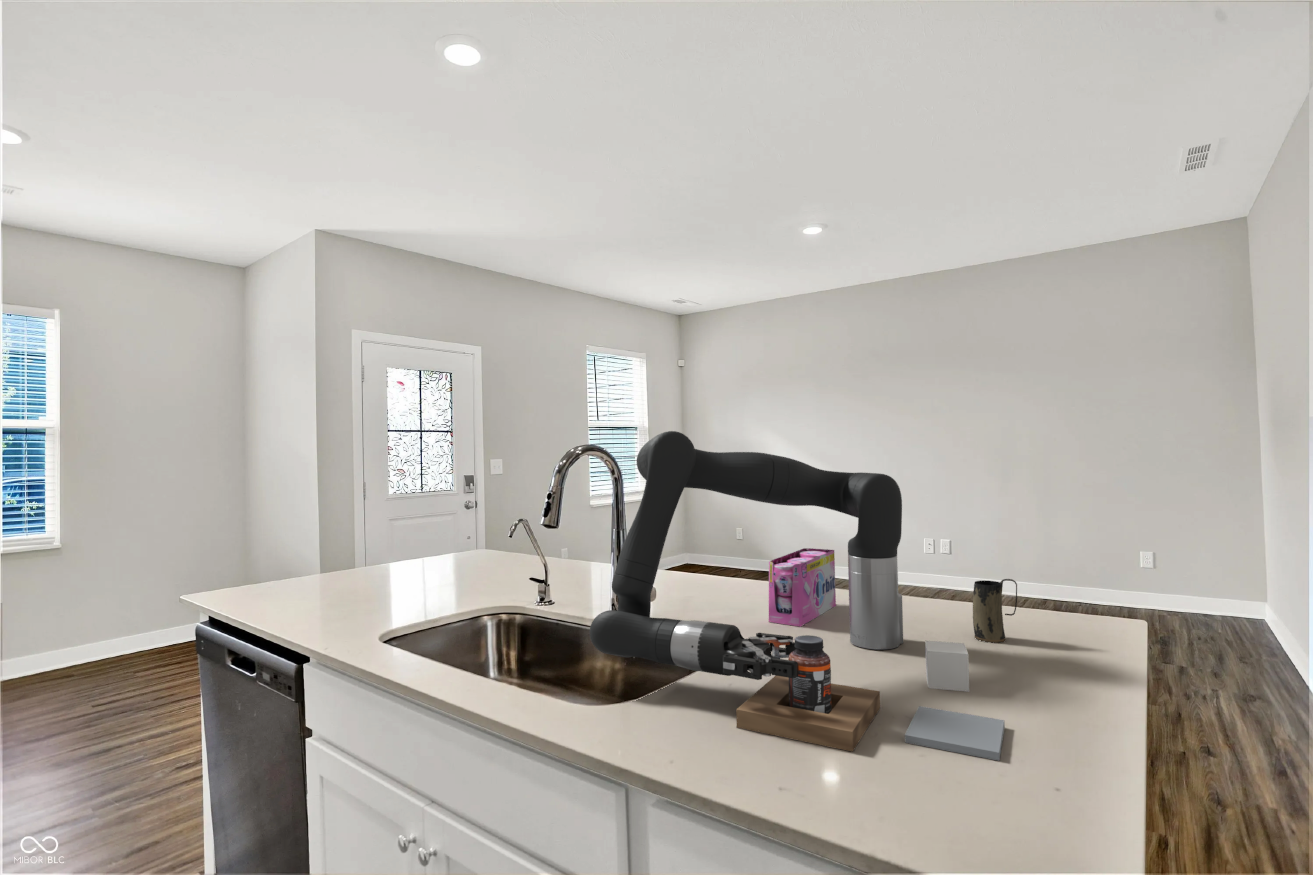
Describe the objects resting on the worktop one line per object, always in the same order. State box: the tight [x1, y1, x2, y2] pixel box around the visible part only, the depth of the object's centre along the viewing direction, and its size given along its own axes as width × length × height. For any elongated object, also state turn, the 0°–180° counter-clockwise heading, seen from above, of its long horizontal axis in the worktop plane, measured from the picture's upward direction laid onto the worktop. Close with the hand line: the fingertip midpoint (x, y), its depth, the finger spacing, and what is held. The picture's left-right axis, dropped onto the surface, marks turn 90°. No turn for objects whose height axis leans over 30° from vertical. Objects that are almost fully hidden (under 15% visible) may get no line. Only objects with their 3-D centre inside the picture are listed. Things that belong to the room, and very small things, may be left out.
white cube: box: [924, 640, 970, 693], centre depth 109 cm, size 6×6×6 cm
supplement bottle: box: [787, 634, 832, 714], centre depth 97 cm, size 6×6×11 cm
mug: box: [972, 578, 1018, 644], centre depth 133 cm, size 8×6×12 cm
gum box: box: [768, 547, 837, 627], centre depth 155 cm, size 24×8×14 cm, turn 146°
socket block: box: [735, 675, 881, 752], centre depth 97 cm, size 16×16×2 cm
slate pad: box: [904, 705, 1006, 762], centre depth 90 cm, size 11×11×1 cm
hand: (807, 661), depth 97 cm, fingers open, 8 cm apart
